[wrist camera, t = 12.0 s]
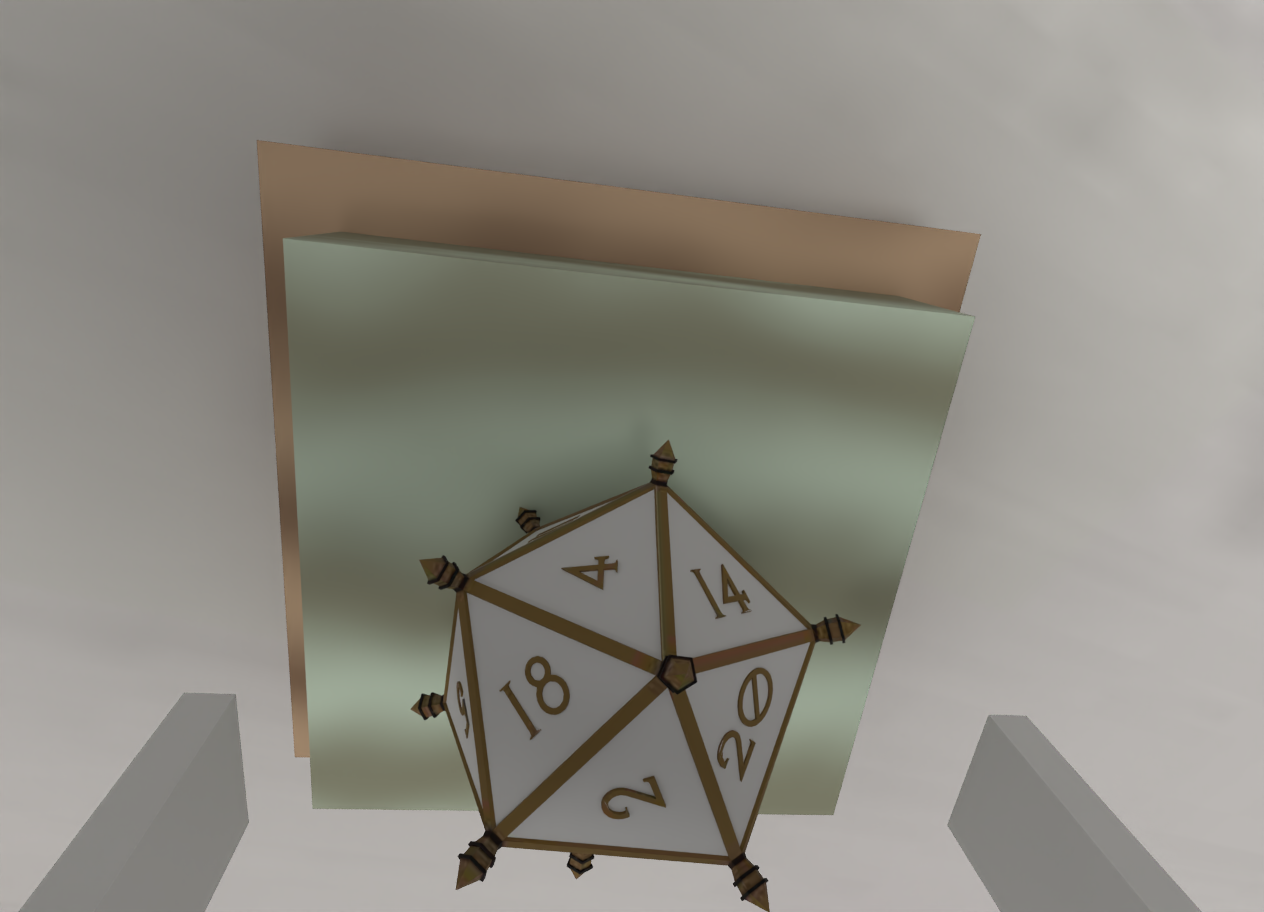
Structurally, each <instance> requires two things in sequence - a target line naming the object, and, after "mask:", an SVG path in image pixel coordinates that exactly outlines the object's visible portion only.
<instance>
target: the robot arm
mask: <svg viewBox="0 0 1264 912" xmlns="http://www.w3.org/2000/svg"><path fill="white" fill-rule="evenodd" d="M248 823H249V820H248V811H247V801H246V791H245V781H244V772H243V762H242V752H241V742H240V733H239V723H238V713H237V703H236V694H206V693H184V694H183V695H182V696H181V698H180V699H179V700H178V702H177V703H176V704H175V706H174V707H173V708H172V709H171V711H170V712H169V713H168V715H167V716H166V717H165V719H164V720H163V721H162V723H161V724H160V725H159V727H158V728H157V729H156V731H155V732H154V733H153V735H152V736H151V737H150V739H149V740H148V741H147V743H146V744H145V745H144V747H143V748H142V749H141V751H140V752H139V753H138V754H137V756H136V757H135V758H134V760H133V761H132V762H131V764H130V765H129V766H128V768H127V769H126V770H125V772H124V773H123V774H122V776H121V777H120V778H119V780H118V781H117V782H116V784H115V785H114V786H113V788H112V789H111V790H110V792H109V793H108V794H107V796H106V797H105V798H104V799H103V801H102V802H101V803H100V805H99V806H98V807H97V809H96V810H95V811H94V813H93V814H92V815H91V817H90V818H89V819H88V821H87V822H86V823H85V825H84V826H83V827H82V829H81V830H80V831H79V833H78V834H77V835H76V837H75V838H74V839H73V841H72V842H71V843H70V844H69V846H68V847H67V848H66V850H65V851H64V852H63V854H62V855H61V856H60V858H59V859H58V860H57V862H56V863H55V864H54V866H53V867H52V868H51V870H50V871H49V872H48V874H47V875H46V876H45V878H44V879H43V880H42V882H41V883H40V884H39V886H38V887H37V888H36V889H35V891H34V892H33V893H32V895H31V896H30V897H29V899H28V900H27V901H26V903H25V904H24V905H23V907H22V908H21V909H20V911H19V912H205V910H206V908H207V906H208V904H209V902H210V900H211V898H212V896H213V894H214V892H215V890H216V888H217V886H218V884H219V882H220V880H221V878H222V876H223V874H224V872H225V870H226V868H227V866H228V864H229V861H230V859H231V857H232V855H233V853H234V851H235V849H236V847H237V845H238V843H239V841H240V839H241V837H242V835H243V833H244V831H245V829H246V827H247V825H248ZM948 827H949V829H950V830H951V832H952V833H953V835H954V837H955V838H956V840H957V842H958V843H959V845H960V846H961V848H962V850H963V851H964V853H965V855H966V856H967V858H968V859H969V861H970V863H971V864H972V866H973V868H974V869H975V871H976V872H977V874H978V876H979V877H980V879H981V881H982V882H983V884H984V885H985V887H986V889H987V890H988V892H989V894H990V895H991V897H992V898H993V900H994V902H995V903H996V905H997V907H998V908H999V910H1000V911H1001V912H1201V910H1200V909H1199V908H1198V907H1197V906H1196V905H1195V904H1194V903H1193V901H1192V900H1191V899H1190V898H1189V897H1188V896H1187V895H1186V894H1185V893H1184V891H1183V890H1182V889H1181V888H1180V887H1179V886H1178V885H1177V884H1176V882H1175V881H1174V880H1173V879H1172V878H1171V877H1170V876H1169V875H1168V874H1167V872H1166V871H1165V870H1164V869H1163V868H1162V867H1161V866H1160V865H1159V863H1158V862H1157V861H1156V860H1155V859H1154V858H1153V857H1152V856H1151V855H1150V853H1149V852H1148V851H1147V850H1146V849H1145V848H1144V847H1143V846H1142V845H1141V843H1140V842H1139V841H1138V840H1137V839H1136V838H1135V837H1134V836H1133V834H1132V833H1131V832H1130V831H1129V830H1128V829H1127V828H1126V827H1125V826H1124V824H1123V823H1122V822H1121V821H1120V820H1119V819H1118V818H1117V817H1116V815H1115V814H1114V813H1113V812H1112V811H1111V810H1110V809H1109V808H1108V807H1107V805H1106V804H1105V803H1104V802H1103V801H1102V800H1101V799H1100V798H1099V796H1098V795H1097V794H1096V793H1095V792H1094V791H1093V790H1092V789H1091V788H1090V786H1089V785H1088V784H1087V783H1086V782H1085V781H1084V780H1083V779H1082V777H1081V776H1080V775H1079V774H1078V773H1077V772H1076V771H1075V770H1074V769H1073V767H1072V766H1071V765H1070V764H1069V763H1068V762H1067V761H1066V760H1065V759H1064V757H1063V756H1062V755H1061V754H1060V753H1059V752H1058V751H1057V750H1056V748H1055V747H1054V746H1053V745H1052V744H1051V743H1050V742H1049V741H1048V740H1047V738H1046V737H1045V736H1044V735H1043V734H1042V733H1041V732H1040V731H1039V729H1038V728H1037V727H1036V726H1035V725H1034V724H1033V723H1032V722H1031V721H1030V719H1029V718H1028V717H1027V716H1013V715H989V716H988V718H987V721H986V724H985V726H984V729H983V732H982V734H981V737H980V740H979V742H978V745H977V748H976V750H975V753H974V756H973V758H972V761H971V764H970V766H969V769H968V772H967V774H966V777H965V780H964V782H963V785H962V788H961V790H960V793H959V796H958V798H957V801H956V804H955V806H954V809H953V812H952V814H951V817H950V820H949V822H948Z"/></svg>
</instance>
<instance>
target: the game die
mask: <svg viewBox="0 0 1264 912" xmlns="http://www.w3.org/2000/svg"><path fill="white" fill-rule="evenodd" d="M650 457H652V464H651V466H649V469H651V475H652V479H651V481H650V482H649V483H647V484H644V485H642V486H639V487H637V488H634V489H632V490H629V491H627V492H624V493H622V494H619V495H617V496H614V497H612V498H609V499H607V500H605V501H602V502H600V503H597V504H595V505H592V506H590V507H587V508H585V509H582V510H580V511H577V512H575V513H572V514H570V515H567V516H565V517H562V518H560V519H558V520H555V521H553V522H550V523H548V524H545V525H543V526H540V517H537V515H536V513H537V511H536V510H528V509H525V508H522V507H520V508H519V513H518V518H517V519H516V520H515V521H516V522H517V523H518V524H519V525H520V528H521V529H522V530H523V531H524V532H525V533H526V535H525V536H523V537H522V538H520V539H519V540H517V541H516V542H514V543H513V544H511V545H510V546H508V547H506V548H505V549H503V550H502V551H500V552H499V553H497V554H496V555H494V556H493V557H491V558H490V559H488V560H487V561H485V562H484V563H482V564H481V565H479V566H478V567H476V568H475V569H473V570H472V571H470V572H469V573H467V574H464V573H461V571H460V569H459V568H458V566H457V564H456V563H455V562H453V563H450V562H449V561H448V560H447V558H446V556H444V555H443V556H442V557H441V558H432V559H421V560H419V561H420V563H421V565H422V567H423V570H424V572H425V574H426V576H427V578H428V582H427V584H429V585H430V584H433V583H434V584H436V585H438V586H439V588H438V589H440V590H442V589H445V588H448V589H453V590H454V591H455V592H456V600H455V608H454V616H453V624H452V632H451V641H450V649H449V657H448V665H447V673H446V681H445V690H444V695H442V696H441V695H439V694H436V693H434V692H432V693H431V694H430V695H426V694H424V693H423V694H421V697H420V699H419V700H418V701H417V702H416V703H415V704H414V705H413V707H412V708H411V709H410V710H412V711H414V712H415V713H417V714H419V715H420V716H422V717H423V719H424V720H427V719H428V718H429V717H431V716H433V718H436V717H437V716H438V715H439V714H440V713H441V712H443V711H446V714H447V717H448V720H449V723H450V726H451V729H452V732H453V735H454V738H455V741H456V744H457V747H458V750H459V753H460V756H461V759H462V762H463V765H464V768H465V771H466V774H467V777H468V780H469V783H470V786H471V789H472V792H473V795H474V798H475V801H476V804H477V807H478V810H479V813H480V816H481V819H482V822H483V825H484V828H485V833H484V835H483V836H482V837H481V838H480V839H478V840H477V841H476V842H472V841H471V842H470V843H469V844H468V845H469V846H470V847H469V849H468V850H467V851H466V852H465V853H464V854H461V853H460V854H459V855H458V857H459V859H460V865H459V871H458V878H457V885H456V890H457V889H460V888H462V887H464V886H467V885H469V884H471V883H474V882H476V881H478V880H481V881H482V882H483V881H484V879H485V876H486V873H487V870H488V868H489V867H490V868H492V867H493V865H494V862H495V859H496V857H495V854H496V852H497V850H498V849H500V848H501V847H511V848H523V849H535V850H547V851H559V852H571V853H570V856H569V857H570V858H569V861H568V863H567V867H569V868H570V869H571V871H572V873H573V874H574V876H575V878H576V879H577V878H578V877H580V876H581V875H582V874H583V873H584V872H586V871H588V870H590V869H592V868H593V866H592V864H591V860H592V859H594V855H593V854H596V855H608V856H620V857H632V858H644V859H656V860H669V861H681V862H693V863H705V864H717V865H728V866H729V867H730V868H731V870H732V873H733V876H734V880H735V882H734V883H733V885H734V887H735V886H738V888H739V890H740V892H741V894H742V897H741V900H742V901H743V900H744V899H745V900H747V901H749V902H751V903H753V904H755V905H756V906H758V907H760V908H762V909H764V910H766V911H768V912H770V911H769V902H768V894H767V886H766V882H768V880H767V878H764V879H763V877H762V876H761V874H760V873H759V871H758V869H759V867H758V865H755V866H754V865H753V864H752V863H751V862H750V861H749V860H748V859H747V858H746V855H745V850H746V847H747V844H748V841H749V838H750V836H751V833H752V830H753V827H754V824H755V821H756V818H757V815H758V812H759V809H760V806H761V803H762V800H763V797H764V794H765V791H766V788H767V785H768V782H769V779H770V776H771V773H772V771H773V768H774V765H775V762H776V759H777V756H778V753H779V750H780V747H781V744H782V741H783V738H784V735H785V732H786V729H787V726H788V723H789V720H790V717H791V714H792V711H793V708H794V705H795V703H796V700H797V697H798V694H799V691H800V688H801V685H802V682H803V679H804V676H805V673H806V670H807V667H808V664H809V661H810V658H811V655H812V652H813V649H814V646H815V643H817V642H819V641H822V642H830V645H833V642H837V641H842V643H845V640H846V639H847V638H848V637H849V636H850V635H851V634H852V633H853V632H854V631H855V630H856V629H857V628H859V627H860V626H861V625H860V624H858V623H855V622H852V621H850V620H847V619H844V618H841V617H839V616H838V614H835V616H836V617H834V618H830V619H827V617H823V618H824V620H823V621H821V622H819V623H818V624H810V623H809V622H808V621H807V620H806V619H805V618H804V617H803V616H802V615H801V614H800V613H799V612H798V611H797V610H796V609H795V608H794V607H793V606H792V605H791V604H790V603H789V602H788V601H787V600H786V599H785V598H784V597H783V596H781V595H780V594H779V593H778V592H777V591H776V590H775V589H774V588H773V587H772V586H771V585H770V584H769V583H768V582H767V581H766V580H765V579H764V578H763V577H762V576H761V575H760V574H759V573H758V572H757V571H756V570H755V569H754V568H753V567H752V566H750V565H749V564H748V563H747V562H746V561H745V560H744V559H743V558H742V557H741V556H740V555H739V554H738V553H737V552H736V551H735V550H734V549H733V548H732V547H731V546H730V545H729V544H728V543H727V542H726V541H725V540H724V539H723V538H722V537H721V536H719V535H718V534H717V533H716V532H715V531H714V530H713V529H712V528H711V527H710V526H709V525H708V524H707V523H706V522H705V521H704V520H703V519H702V518H701V517H700V516H699V515H698V514H697V513H696V512H695V511H694V510H693V509H692V508H691V507H690V506H688V505H687V504H686V503H685V502H684V501H683V500H682V499H681V498H680V497H679V496H678V495H677V494H676V493H675V492H674V491H673V490H672V489H671V488H670V487H669V486H668V485H667V482H668V479H669V477H670V475H672V474H673V473H674V471H675V470H673V466H674V464H675V463H676V462H677V460H678V459H675V456H674V453H673V450H672V447H671V444H670V441H669V439H668V440H667V441H666V442H665V443H664V444H663V445H662V446H661V447H660V448H659V449H658V450H657V451H656V452H655V453H654V454H650ZM527 533H528V534H527Z"/></svg>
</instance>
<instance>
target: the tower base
mask: <svg viewBox="0 0 1264 912" xmlns="http://www.w3.org/2000/svg"><path fill="white" fill-rule="evenodd" d="M257 152H258V168H259V184H260V200H261V216H262V233H263V249H264V265H265V281H266V297H267V313H268V330H269V346H270V362H271V378H272V394H273V411H274V427H275V443H276V459H277V475H278V492H279V508H280V524H281V540H282V556H283V573H284V589H285V605H286V621H287V637H288V654H289V670H290V686H291V702H292V718H293V735H294V751H295V757H310V767H311V786H312V805H313V809H381V810H463V811H479V810H478V807H477V804H476V801H475V798H474V795H473V792H472V789H471V786H470V783H469V780H468V777H467V774H466V771H465V768H464V765H463V762H462V759H461V756H460V753H459V750H458V747H457V744H456V741H455V738H454V735H453V732H452V729H451V726H450V723H449V720H448V717H447V714H446V711H443V712H441V713H440V714H439V715H438V716H437V717H436V718H433V716H431V717H429V718H428V719H427V720H424V719H423V717H422V716H420V715H419V714H417V713H415V712H414V711H412V710H410V709H411V708H412V707H413V705H414V704H415V703H416V702H417V701H418V700H419V699H420V697H421V694H423V693H424V694H426V695H430V694H431V693H432V692H434V693H436V694H439V695H441V696H442V695H444V690H445V681H446V673H447V665H448V657H449V649H450V641H451V632H452V624H453V616H454V608H455V600H456V592H455V591H454V590H453V589H448V588H445V589H442V590H440V589H438V588H439V586H438V585H436V584H434V583H433V584H430V585H429V584H427V582H428V578H427V576H426V574H425V572H424V570H423V567H422V565H421V563H420V561H419V560H421V559H432V558H441V557H442V556H443V555H444V556H446V558H447V560H448V561H449V562H450V563H453V562H455V563H456V564H457V566H458V568H459V569H460V571H461V573H464V574H467V573H469V572H470V571H472V570H473V569H475V568H476V567H478V566H479V565H481V564H482V563H484V562H485V561H487V560H488V559H490V558H491V557H493V556H494V555H496V554H497V553H499V552H500V551H502V550H503V549H505V548H506V547H508V546H510V545H511V544H513V543H514V542H516V541H517V540H519V539H520V538H522V537H523V536H525V535H526V533H525V532H524V531H523V530H522V529H521V528H520V525H519V524H518V523H517V522H516V521H515V520H516V519H517V518H518V513H519V508H520V507H522V508H525V509H528V510H536V511H537V513H536V515H537V517H540V526H543V525H545V524H548V523H550V522H553V521H555V520H558V519H560V518H562V517H565V516H567V515H570V514H572V513H575V512H577V511H580V510H582V509H585V508H587V507H590V506H592V505H595V504H597V503H600V502H602V501H605V500H607V499H609V498H612V497H614V496H617V495H619V494H622V493H624V492H627V491H629V490H632V489H634V488H637V487H639V486H642V485H644V484H647V483H649V482H650V481H651V479H652V475H651V469H649V466H651V464H652V457H650V454H654V453H655V452H656V451H657V450H658V449H659V448H660V447H661V446H662V445H663V444H664V443H665V442H666V441H667V440H668V439H669V441H670V444H671V447H672V450H673V453H674V456H675V459H678V460H677V462H676V463H675V464H674V466H673V470H675V471H674V473H673V474H672V475H670V477H669V479H668V482H667V485H668V486H669V487H670V488H671V489H672V490H673V491H674V492H675V493H676V494H677V495H678V496H679V497H680V498H681V499H682V500H683V501H684V502H685V503H686V504H687V505H688V506H690V507H691V508H692V509H693V510H694V511H695V512H696V513H697V514H698V515H699V516H700V517H701V518H702V519H703V520H704V521H705V522H706V523H707V524H708V525H709V526H710V527H711V528H712V529H713V530H714V531H715V532H716V533H717V534H718V535H719V536H721V537H722V538H723V539H724V540H725V541H726V542H727V543H728V544H729V545H730V546H731V547H732V548H733V549H734V550H735V551H736V552H737V553H738V554H739V555H740V556H741V557H742V558H743V559H744V560H745V561H746V562H747V563H748V564H749V565H750V566H752V567H753V568H754V569H755V570H756V571H757V572H758V573H759V574H760V575H761V576H762V577H763V578H764V579H765V580H766V581H767V582H768V583H769V584H770V585H771V586H772V587H773V588H774V589H775V590H776V591H777V592H778V593H779V594H780V595H781V596H783V597H784V598H785V599H786V600H787V601H788V602H789V603H790V604H791V605H792V606H793V607H794V608H795V609H796V610H797V611H798V612H799V613H800V614H801V615H802V616H803V617H804V618H805V619H806V620H807V621H808V622H809V623H810V624H818V623H819V622H821V621H823V620H824V618H823V617H827V619H830V618H834V617H836V616H835V614H838V616H839V617H841V618H844V619H847V620H850V621H852V622H855V623H858V624H860V625H861V626H860V627H859V628H857V629H856V630H855V631H854V632H853V633H852V634H851V635H850V636H849V637H848V638H847V639H846V640H845V643H842V641H837V642H833V645H830V642H822V641H819V642H817V643H815V646H814V649H813V652H812V655H811V658H810V661H809V664H808V667H807V670H806V673H805V676H804V679H803V682H802V685H801V688H800V691H799V694H798V697H797V700H796V703H795V705H794V708H793V711H792V714H791V717H790V720H789V723H788V726H787V729H786V732H785V735H784V738H783V741H782V744H781V747H780V750H779V753H778V756H777V759H776V762H775V765H774V768H773V771H772V773H771V776H770V779H769V782H768V785H767V788H766V791H765V794H764V797H763V800H762V803H761V806H760V809H759V812H758V814H788V815H833V814H834V810H835V807H836V803H837V800H838V796H839V793H840V789H841V786H842V782H843V779H844V775H845V772H846V768H847V765H848V761H849V758H850V754H851V751H852V747H853V744H854V740H855V737H856V733H857V730H858V726H859V723H860V719H861V716H862V712H863V709H864V705H865V702H866V698H867V695H868V691H869V688H870V684H871V681H872V677H873V674H874V670H875V667H876V663H877V660H878V656H879V653H880V649H881V646H882V642H883V639H884V635H885V632H886V628H887V625H888V621H889V617H890V614H891V610H892V607H893V603H894V600H895V596H896V593H897V589H898V586H899V582H900V579H901V575H902V572H903V568H904V565H905V561H906V558H907V554H908V551H909V547H910V544H911V540H912V537H913V533H914V530H915V526H916V523H917V519H918V516H919V512H920V509H921V505H922V502H923V498H924V495H925V491H926V488H927V484H928V481H929V477H930V474H931V470H932V467H933V463H934V460H935V456H936V453H937V449H938V446H939V442H940V439H941V435H942V432H943V428H944V425H945V421H946V418H947V414H948V411H949V407H950V404H951V400H952V397H953V393H954V390H955V386H956V383H957V379H958V376H959V372H960V369H961V365H962V361H963V358H964V354H965V351H966V347H967V344H968V340H969V337H970V333H971V330H972V326H973V323H974V319H975V317H974V316H971V315H967V314H963V313H960V308H961V304H962V301H963V297H964V293H965V290H966V286H967V283H968V279H969V275H970V272H971V268H972V265H973V261H974V257H975V254H976V250H977V246H978V243H979V239H980V236H981V234H975V233H967V232H960V231H952V230H944V229H936V228H929V227H921V226H913V225H906V224H898V223H890V222H883V221H875V220H867V219H860V218H852V217H844V216H837V215H829V214H821V213H813V212H806V211H798V210H790V209H783V208H775V207H767V206H760V205H752V204H744V203H737V202H729V201H721V200H713V199H706V198H698V197H690V196H683V195H675V194H667V193H660V192H652V191H644V190H637V189H629V188H621V187H614V186H606V185H598V184H590V183H583V182H575V181H567V180H560V179H552V178H544V177H537V176H529V175H521V174H514V173H506V172H498V171H490V170H483V169H475V168H467V167H460V166H452V165H444V164H437V163H429V162H421V161H414V160H406V159H398V158H391V157H383V156H375V155H367V154H360V153H352V152H344V151H337V150H329V149H321V148H314V147H306V146H298V145H291V144H283V143H275V142H267V141H260V140H257ZM527 534H528V533H527Z"/></svg>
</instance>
